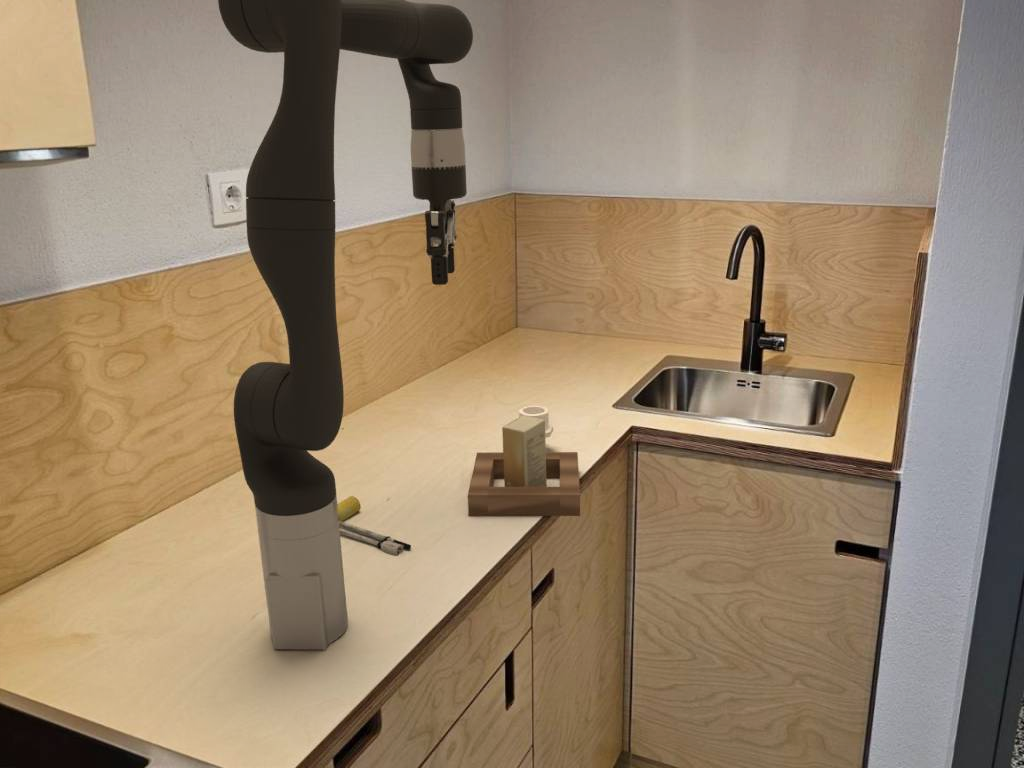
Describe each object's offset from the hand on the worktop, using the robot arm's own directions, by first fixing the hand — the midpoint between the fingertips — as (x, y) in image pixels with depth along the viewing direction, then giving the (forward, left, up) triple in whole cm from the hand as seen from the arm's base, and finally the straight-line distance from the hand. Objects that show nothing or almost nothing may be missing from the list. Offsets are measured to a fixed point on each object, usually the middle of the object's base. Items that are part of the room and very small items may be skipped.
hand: (443, 278), depth 129 cm
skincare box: (+5, -11, -36) cm, 38 cm away
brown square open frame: (+5, -11, -36) cm, 38 cm away
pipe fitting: (+22, -12, -36) cm, 44 cm away
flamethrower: (-6, +17, -37) cm, 41 cm away
